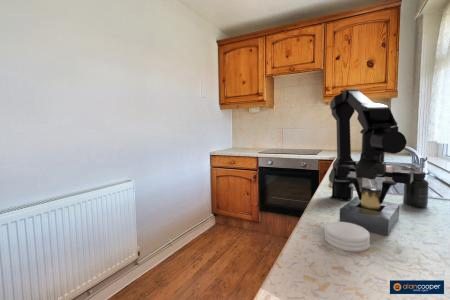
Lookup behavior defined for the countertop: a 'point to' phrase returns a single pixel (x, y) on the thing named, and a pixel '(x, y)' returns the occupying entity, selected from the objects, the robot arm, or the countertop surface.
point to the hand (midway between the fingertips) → (370, 201)
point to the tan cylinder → (370, 198)
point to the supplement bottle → (416, 191)
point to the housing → (371, 216)
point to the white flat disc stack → (347, 236)
